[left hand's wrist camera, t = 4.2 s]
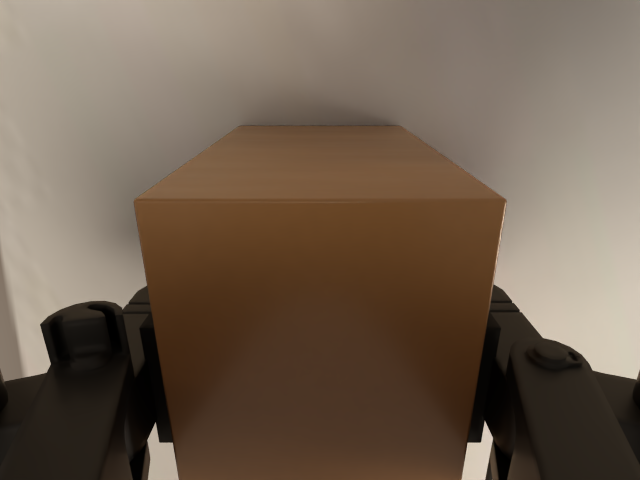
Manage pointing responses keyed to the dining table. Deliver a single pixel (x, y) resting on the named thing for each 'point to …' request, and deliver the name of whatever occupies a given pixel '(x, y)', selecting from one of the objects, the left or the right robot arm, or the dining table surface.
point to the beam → (320, 304)
